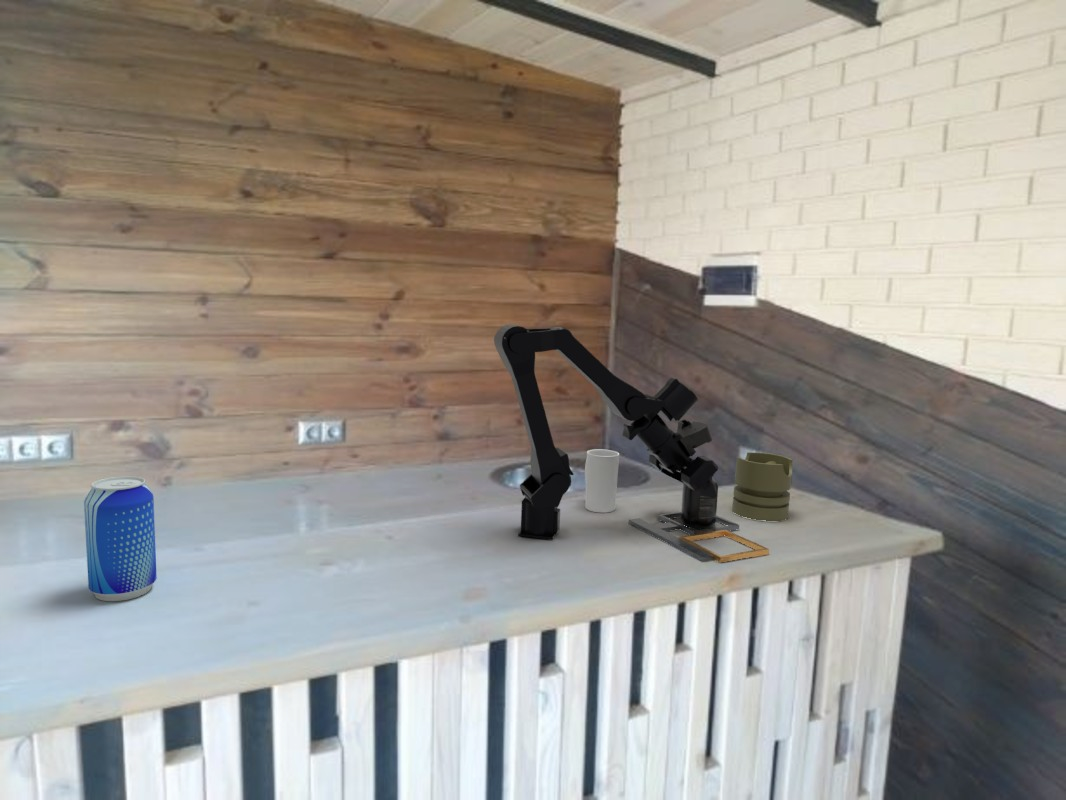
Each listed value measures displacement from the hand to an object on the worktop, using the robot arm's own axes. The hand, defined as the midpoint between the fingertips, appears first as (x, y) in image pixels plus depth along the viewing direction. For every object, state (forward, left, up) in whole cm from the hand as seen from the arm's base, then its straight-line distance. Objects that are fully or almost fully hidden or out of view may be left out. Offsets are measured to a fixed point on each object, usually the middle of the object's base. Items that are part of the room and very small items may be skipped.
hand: (706, 492), depth 142 cm
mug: (-22, +5, -7) cm, 24 cm away
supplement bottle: (-1, -1, -7) cm, 7 cm away
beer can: (-81, -60, -7) cm, 101 cm away
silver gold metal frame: (0, -8, -7) cm, 10 cm away
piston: (+12, +12, -7) cm, 18 cm away
